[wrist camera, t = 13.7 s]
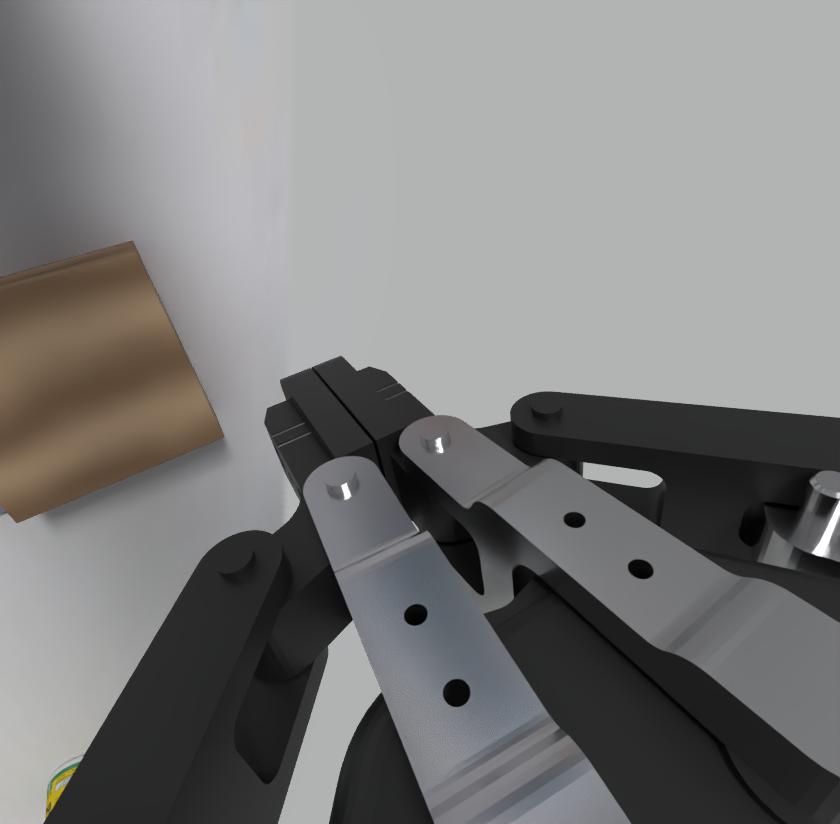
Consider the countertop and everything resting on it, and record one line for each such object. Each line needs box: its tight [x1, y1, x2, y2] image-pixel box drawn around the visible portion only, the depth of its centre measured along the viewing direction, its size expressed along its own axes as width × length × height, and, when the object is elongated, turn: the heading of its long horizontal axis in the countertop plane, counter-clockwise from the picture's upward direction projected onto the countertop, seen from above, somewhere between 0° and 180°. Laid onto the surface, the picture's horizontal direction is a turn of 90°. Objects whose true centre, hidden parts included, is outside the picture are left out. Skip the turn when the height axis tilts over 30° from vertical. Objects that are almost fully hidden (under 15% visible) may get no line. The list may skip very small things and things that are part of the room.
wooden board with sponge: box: [0, 241, 224, 523], centre depth 34 cm, size 14×14×4 cm
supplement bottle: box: [46, 756, 83, 818], centre depth 48 cm, size 5×5×10 cm
